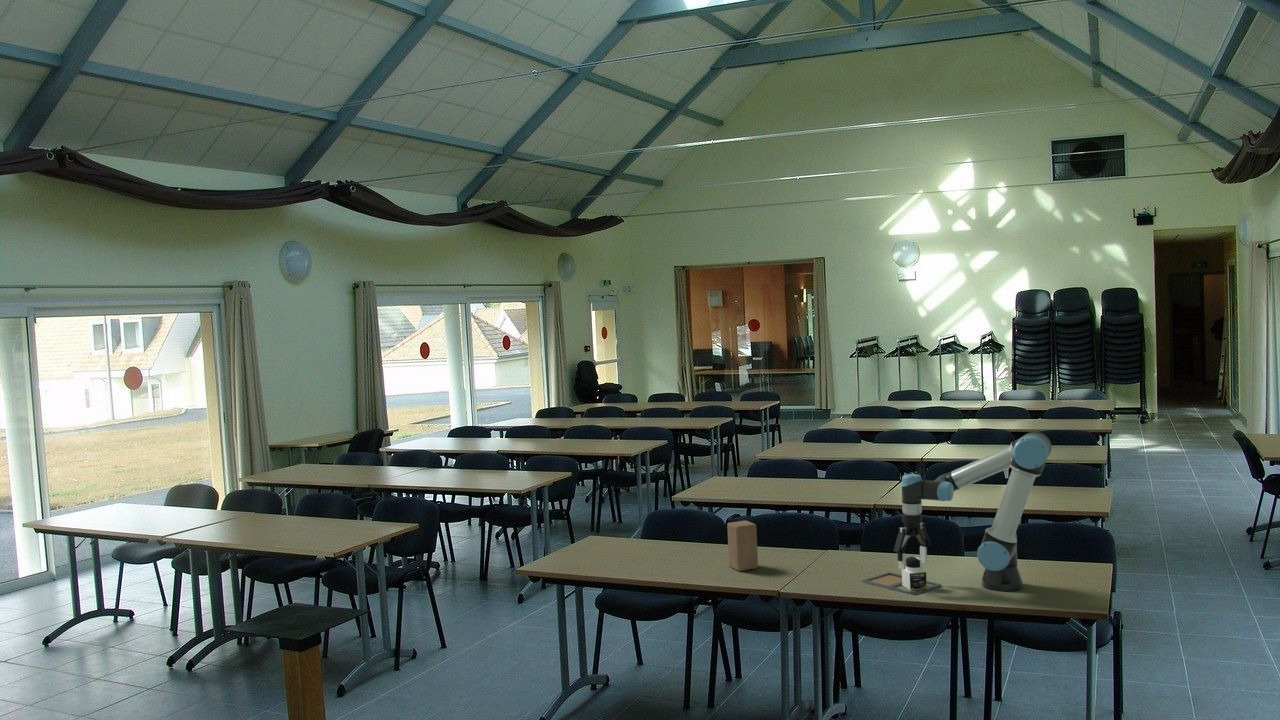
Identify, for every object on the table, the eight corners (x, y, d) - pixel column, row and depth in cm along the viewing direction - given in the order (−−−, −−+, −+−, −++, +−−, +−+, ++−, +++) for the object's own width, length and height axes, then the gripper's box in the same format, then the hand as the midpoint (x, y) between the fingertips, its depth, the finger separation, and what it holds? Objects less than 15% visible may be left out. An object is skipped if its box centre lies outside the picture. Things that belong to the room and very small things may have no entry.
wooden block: (738, 572, 424) (736, 526, 423) (728, 567, 433) (726, 522, 432) (759, 569, 428) (757, 523, 427) (748, 563, 437) (746, 519, 436)
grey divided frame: (941, 586, 389) (941, 584, 389) (914, 595, 379) (914, 593, 379) (889, 574, 410) (889, 572, 410) (862, 582, 400) (862, 580, 400)
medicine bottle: (910, 590, 385) (909, 560, 385) (902, 585, 392) (901, 556, 392) (927, 588, 387) (926, 559, 386) (918, 584, 394) (917, 554, 393)
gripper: (923, 507, 398) (924, 558, 400) (883, 516, 383) (884, 569, 385) (939, 509, 392) (939, 561, 394) (899, 519, 377) (900, 573, 379)
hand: (912, 565), depth 389 cm, fingers open, 13 cm apart
